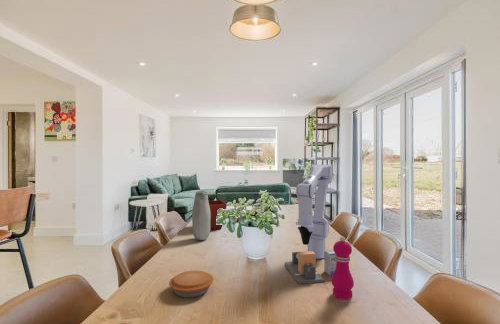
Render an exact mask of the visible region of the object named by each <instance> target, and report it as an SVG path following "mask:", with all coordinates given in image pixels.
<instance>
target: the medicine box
mask: <svg viewBox="0 0 500 324" xmlns="http://www.w3.org/2000/svg"><path fill="white" fill-rule="evenodd" d="M323 260H324V261H323V264H324V265H323V271H324V272H325V273H326V274H327V275H328V276H331V277H332V276H333V274H334V272H335V269H336V260H335V252H334V250H333V249H332V250H325V251H324V258H323Z"/></svg>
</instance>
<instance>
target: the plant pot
mask: <svg viewBox="0 0 500 324" xmlns="http://www.w3.org/2000/svg"><path fill="white" fill-rule="evenodd" d="M208 202H209V207H210V214H211V219H210V231H212V230H221V229H222V227H223V225H216V216H217V210H218V209H219V208H223V209H226V210H227V206H228V205H227V204H228V203H226V202H224V201H223V200H222V199H219V200H218V199H217V200H208Z"/></svg>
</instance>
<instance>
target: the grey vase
mask: <svg viewBox="0 0 500 324" xmlns="http://www.w3.org/2000/svg"><path fill="white" fill-rule="evenodd" d="M208 201H209V195H208V192H207V191H206V190H198V191H196V192H195V194H194V200H193V207H192V211H191V212H192V213H191V220H192V221H191V222H192V228H191V229H192V234H193V237H194V238H195V240H197V241H205V240H207V239H208V238H209V236H210V234H211V230H210V219H211V214H210V207H209V202H208Z"/></svg>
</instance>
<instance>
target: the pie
mask: <svg viewBox="0 0 500 324" xmlns="http://www.w3.org/2000/svg"><path fill="white" fill-rule="evenodd" d="M213 282H214V277H213V275H212V273H208V272H207V271H202V270H188V271H187V270H186V271H183V272H181V273H178V274H176V275H175V276H174V277H172V278H171V279H169V285H168V286H170V288H171V289H172V290H173V291H174V293H175V294H176V296H178V297H181V298H184V297H186V298H185V299H187V298H188V299H190V297H192V298H196V297H197V296H198V297H200V296H202V294H203V295H204V294H206V293H207V291H208V290H209V289H210V286H211V285H212V284H213ZM205 292H206V293H205Z"/></svg>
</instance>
